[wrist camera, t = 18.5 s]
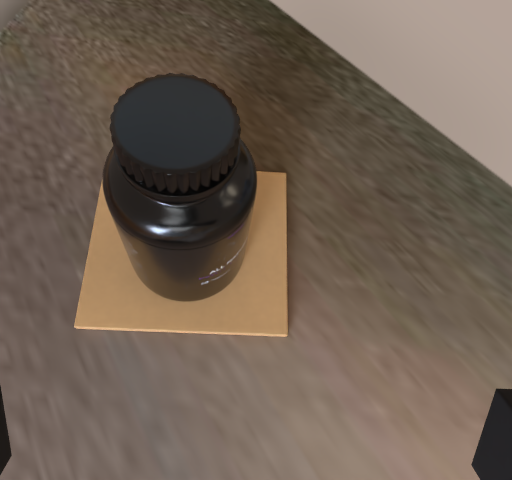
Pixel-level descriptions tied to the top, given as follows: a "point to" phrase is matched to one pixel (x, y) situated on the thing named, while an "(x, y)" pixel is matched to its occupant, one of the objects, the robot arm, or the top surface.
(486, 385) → the top surface
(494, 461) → the robot arm
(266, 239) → the cork mat
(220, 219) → the supplement bottle
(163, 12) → the top surface
